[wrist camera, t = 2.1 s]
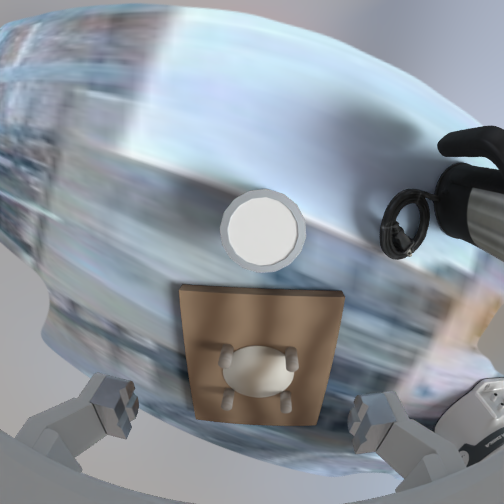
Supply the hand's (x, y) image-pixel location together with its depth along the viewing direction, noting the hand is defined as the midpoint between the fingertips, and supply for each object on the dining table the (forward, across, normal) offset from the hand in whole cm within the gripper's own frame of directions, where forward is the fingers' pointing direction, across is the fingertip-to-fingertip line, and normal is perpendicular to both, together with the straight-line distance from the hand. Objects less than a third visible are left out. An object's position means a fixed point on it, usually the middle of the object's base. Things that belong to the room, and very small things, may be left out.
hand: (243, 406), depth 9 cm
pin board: (+22, -2, +16) cm, 28 cm away
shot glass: (+22, -1, -3) cm, 22 cm away
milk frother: (+22, -21, -5) cm, 30 cm away
